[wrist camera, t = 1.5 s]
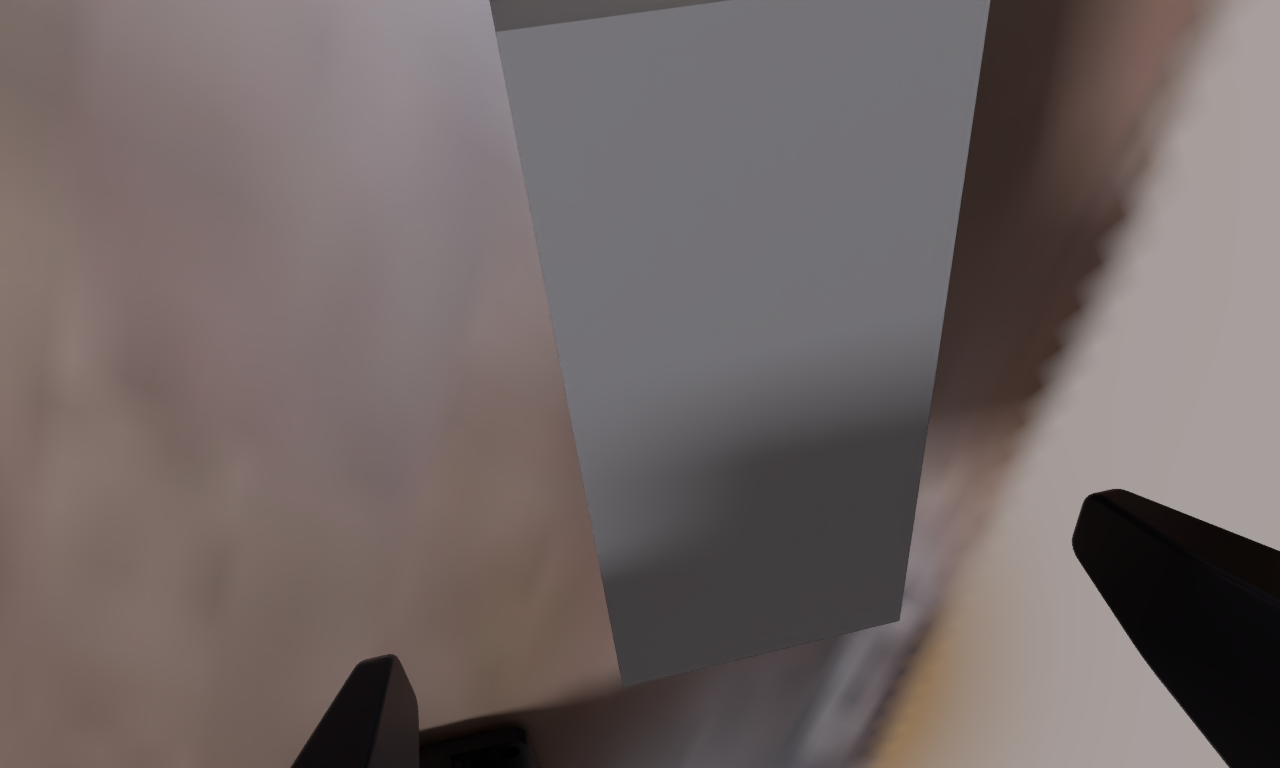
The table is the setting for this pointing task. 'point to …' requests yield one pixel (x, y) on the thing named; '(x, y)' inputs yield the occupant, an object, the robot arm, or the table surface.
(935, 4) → the plug
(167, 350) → the table surface
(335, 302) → the table surface
